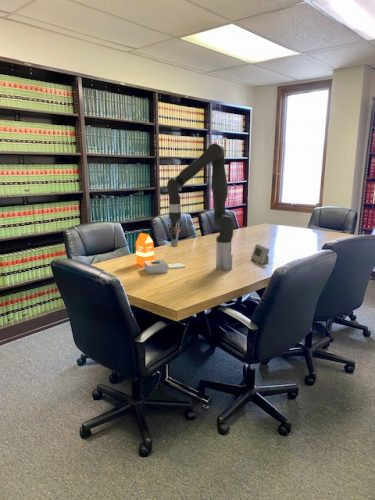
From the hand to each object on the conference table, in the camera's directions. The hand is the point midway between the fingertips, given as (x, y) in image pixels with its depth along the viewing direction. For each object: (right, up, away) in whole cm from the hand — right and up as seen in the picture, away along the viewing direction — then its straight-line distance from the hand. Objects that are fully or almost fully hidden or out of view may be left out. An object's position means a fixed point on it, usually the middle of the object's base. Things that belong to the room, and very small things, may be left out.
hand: (175, 238), depth 230 cm
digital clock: (+56, -15, +15) cm, 59 cm away
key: (-1, -5, +2) cm, 5 cm away
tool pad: (0, -18, +4) cm, 18 cm away
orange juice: (-20, -16, +12) cm, 28 cm away
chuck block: (-12, -20, -4) cm, 23 cm away
